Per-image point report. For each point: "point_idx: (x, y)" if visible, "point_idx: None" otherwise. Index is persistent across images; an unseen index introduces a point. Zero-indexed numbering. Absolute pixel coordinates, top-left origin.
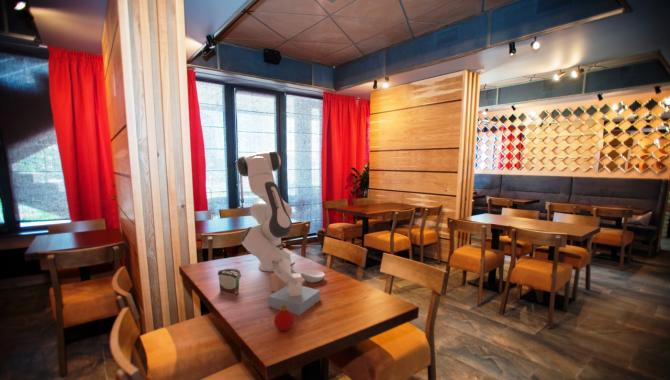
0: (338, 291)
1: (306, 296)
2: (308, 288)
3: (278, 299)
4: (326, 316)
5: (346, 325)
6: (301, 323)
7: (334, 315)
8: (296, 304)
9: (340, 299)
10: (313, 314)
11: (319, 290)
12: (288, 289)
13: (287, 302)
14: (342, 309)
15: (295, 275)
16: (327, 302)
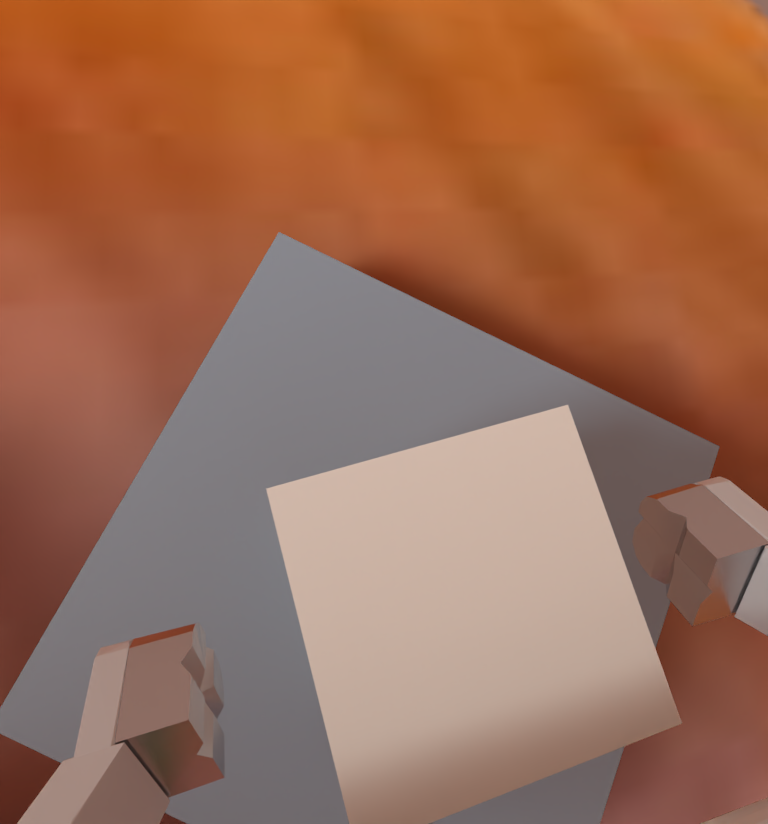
0: (58, 105)
1: (487, 389)
2: (219, 393)
3: (611, 777)
4: (613, 220)
5: (717, 78)
6: (765, 421)
7: (586, 157)
8: None
9: (265, 95)
10: (597, 332)
11: (283, 240)
12: (265, 709)
13: (657, 618)
14: (471, 90)
15: (475, 595)
16: (341, 215)
